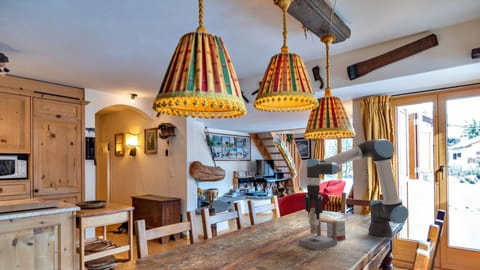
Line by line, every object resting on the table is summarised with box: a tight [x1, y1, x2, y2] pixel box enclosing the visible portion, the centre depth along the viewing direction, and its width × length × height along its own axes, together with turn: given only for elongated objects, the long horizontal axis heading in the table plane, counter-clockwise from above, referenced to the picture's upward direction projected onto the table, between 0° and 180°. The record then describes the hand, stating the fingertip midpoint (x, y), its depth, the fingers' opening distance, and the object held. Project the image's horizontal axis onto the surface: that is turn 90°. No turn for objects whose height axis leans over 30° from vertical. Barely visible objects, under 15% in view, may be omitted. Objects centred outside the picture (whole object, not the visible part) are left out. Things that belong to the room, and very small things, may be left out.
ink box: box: [326, 218, 346, 241], centre depth 198 cm, size 9×9×12 cm
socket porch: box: [298, 217, 338, 251], centre depth 183 cm, size 18×14×14 cm
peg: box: [309, 207, 317, 235], centre depth 182 cm, size 4×4×14 cm
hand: (313, 224), depth 182 cm, fingers closed on peg, 4 cm apart
